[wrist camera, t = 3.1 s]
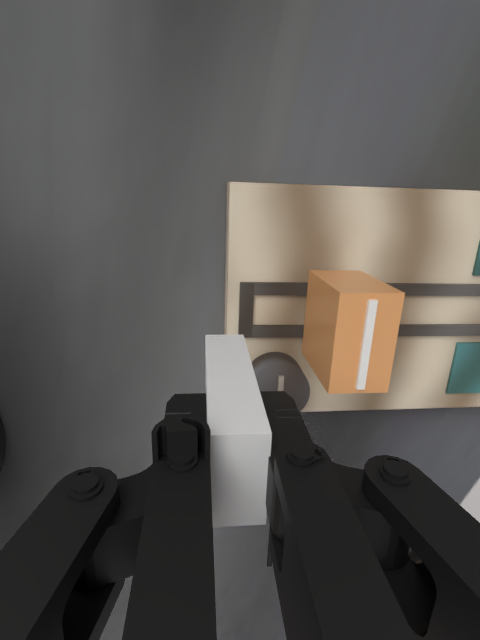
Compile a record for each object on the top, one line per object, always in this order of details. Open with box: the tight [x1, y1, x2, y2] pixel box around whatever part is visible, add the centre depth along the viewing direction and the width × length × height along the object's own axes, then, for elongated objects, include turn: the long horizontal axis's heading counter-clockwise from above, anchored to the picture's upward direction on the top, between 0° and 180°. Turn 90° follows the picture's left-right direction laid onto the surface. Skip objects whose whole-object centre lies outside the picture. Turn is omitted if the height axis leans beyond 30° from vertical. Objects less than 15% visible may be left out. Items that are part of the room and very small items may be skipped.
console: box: [224, 182, 480, 412], centre depth 24 cm, size 20×14×4 cm
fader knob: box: [302, 270, 405, 394], centre depth 20 cm, size 3×5×5 cm, turn 178°
